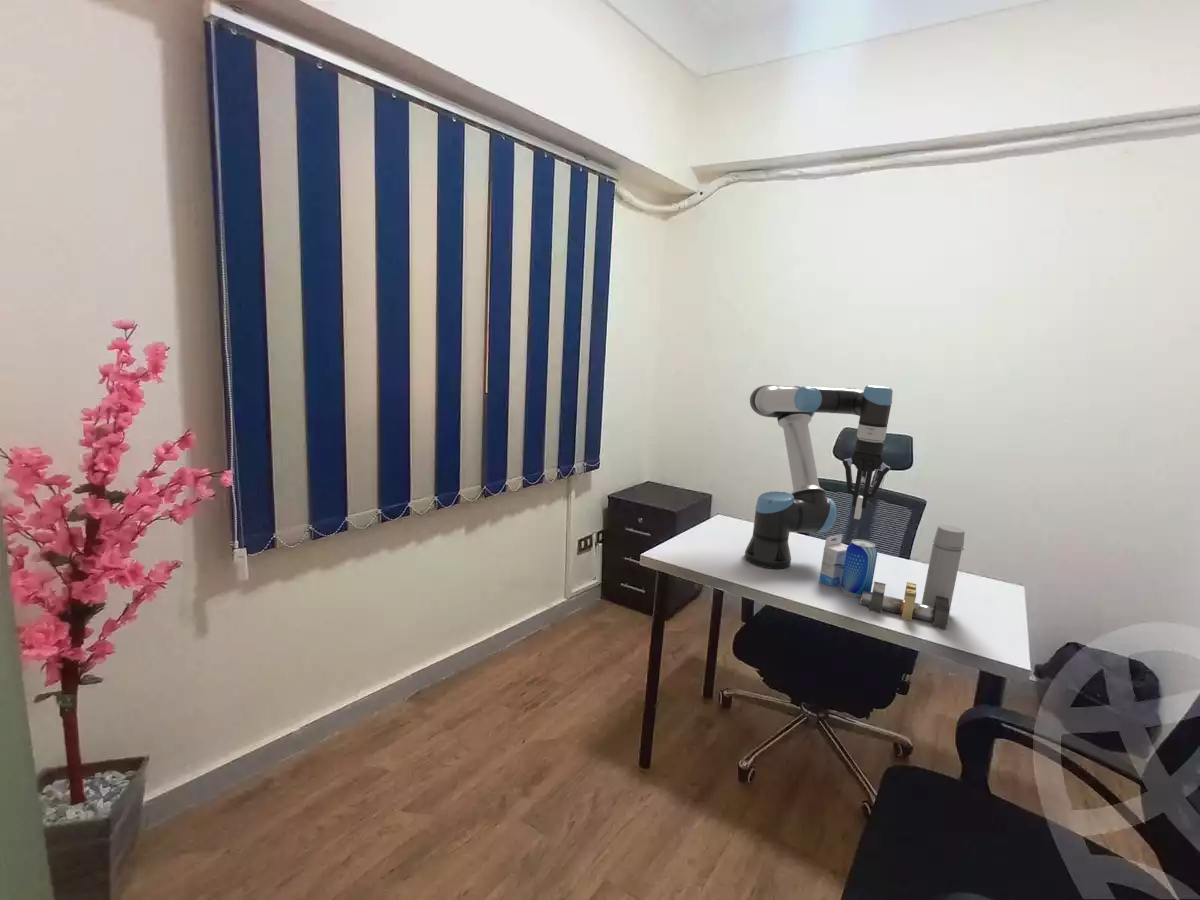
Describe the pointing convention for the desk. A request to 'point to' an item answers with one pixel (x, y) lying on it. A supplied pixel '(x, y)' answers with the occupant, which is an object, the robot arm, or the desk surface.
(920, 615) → the tube
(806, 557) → the desk surface
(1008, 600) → the desk surface
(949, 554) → the water bottle
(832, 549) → the ink box
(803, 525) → the robot arm
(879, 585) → the collar
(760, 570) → the desk surface
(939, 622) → the collar
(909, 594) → the aperture bridge
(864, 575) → the beer can
